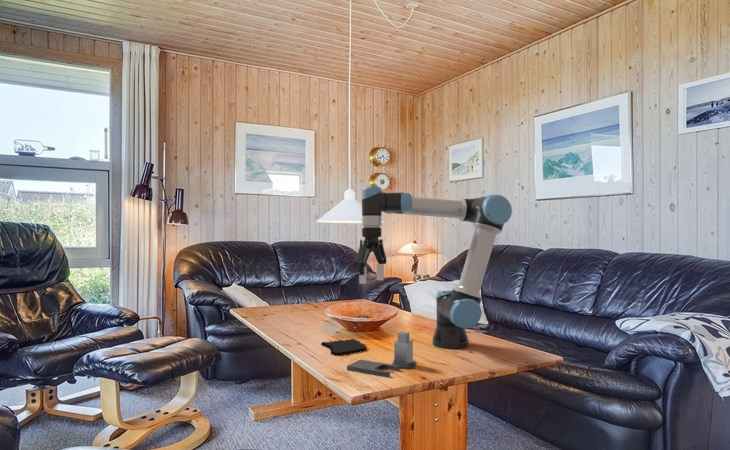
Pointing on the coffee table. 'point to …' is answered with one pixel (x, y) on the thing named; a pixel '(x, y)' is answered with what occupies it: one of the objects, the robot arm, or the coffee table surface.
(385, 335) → the coffee table surface
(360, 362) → the slotted plate
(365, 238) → the robot arm
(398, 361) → the stepped metal tower
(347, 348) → the decorative item
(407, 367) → the pad
